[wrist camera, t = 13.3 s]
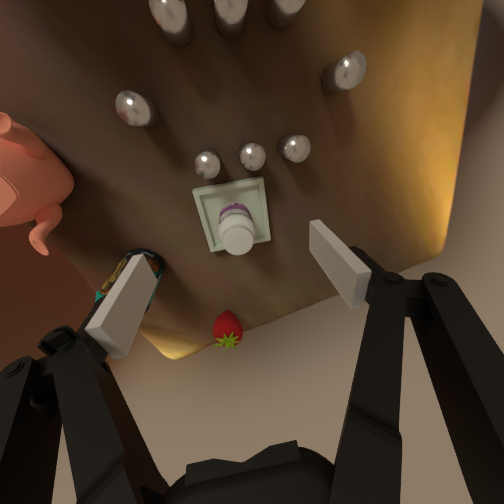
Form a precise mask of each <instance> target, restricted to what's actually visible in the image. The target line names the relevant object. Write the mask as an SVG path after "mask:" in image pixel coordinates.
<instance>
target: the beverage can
mask: <svg viewBox="0 0 504 504" xmlns="http://www.w3.org/2000/svg"><path fill="white" fill-rule="evenodd" d="M139 254H143V255H144V257H145V258H146V260H147V262H148V264H149V266H150V268H151V270H152V271H153V273H154V275H155V277H156V279H157V283H156V286H155V288H154V291H153V293H152V296H151V298H150V301H149V303H148V306H147V308H146V311H145V313H146V312H147V310H148V309H149V307H150V304H151V302H152V299H153V297H154V294H155V292H156V290H157V287H158V285H159V282H160V280H161V277H162V275H163V273H164V269H165V265H164V262H163V260H162V258H161V257H160V256H159V255H158V254H156V253H155V252H153V251H151V250H148V249H134V250H131V251H129V252H128V253H127V254H126V255H125V256H124V257H123V259H122V260H121V261H120V263H119V264H118V265H117V267H116V268H115V269H114V270H113V272H112V273H111V274H110V276H109V277H108V278H107V279H106V281H105V282H104V283H103V285H102V286H101V287H100V288H99V290H98V291H97V293H96V296H95V302H96V303H97V302H98V301H99V300H100V299H102V298H103V297H105V296H107V294H108V293H109V291H110V290H111V288H112V287H113V285H114V284H115V282H116V281H117V279H118V278H119V276H120V275H121V273H122V272H123V270H124V269H125V267H126V266H127V264H128V263H129V261H130V260H131V258H132V257H133V256H134V255H139ZM96 303H95V304H96ZM94 306H95V305H94ZM145 313H144V314H145Z"/></svg>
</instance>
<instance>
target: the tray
mask: <svg viewBox="0 0 504 504" xmlns="http://www.w3.org/2000/svg"><path fill="white" fill-rule="evenodd" d="M192 192H193V195H194V199H195V202H196V205H197V208H198V212H199V215H200V218H201V222H202V225H203V228H204V231H205V235H206V238H207V241H208V244H209V248H210V251H211V252H214V251H219V250H224V249H225V248H224V246H223V244H222V243H221V241H220V240H219V237H218V218H219V212H220V210H221V208H222V207H223V206H224V205H225V204H227V203H229V202H240V203H242V204H244V205H245V206H246V207H247V208H248V210H249V212H250V214H251V217H252V220H253V223H254V226H255V237H254V240H253V244H255V243H260V242H265V241H270V240H271V238H270V230H269V221H268V213H267V204H266V196H265V187H264V179H263V177H262V176H259V177H253V178H248V179H243V180H237V181H232V182H227V183H221V184H216V185H210V186H205V187H200V188H194V189H193V191H192Z"/></svg>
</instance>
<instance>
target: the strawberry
mask: <svg viewBox="0 0 504 504" xmlns="http://www.w3.org/2000/svg"><path fill="white" fill-rule="evenodd" d="M212 330H213V336H214V338H215V340H216V341H217V342H218V343H219V344H216V345H214V346H222V345H223V346H225V347H226V348H227V349H228V348H229V347H230V346H231V347H233V348H236V347H235V345H237V344H238V343H239V342H240V341H241V340H242V335H243V329H242V327H241V324H240V322H239V320H238V319H237V318H236V317H235V315H234V314H232V313H231V312H230V311H229V310H226V311H225V312H223V313H222V314H221V315H219V316H218V317H217V318H216V320H215V322H214V325H213V329H212ZM224 352H225V351H224Z"/></svg>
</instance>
